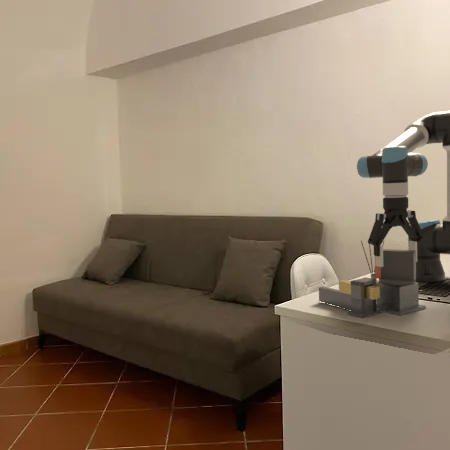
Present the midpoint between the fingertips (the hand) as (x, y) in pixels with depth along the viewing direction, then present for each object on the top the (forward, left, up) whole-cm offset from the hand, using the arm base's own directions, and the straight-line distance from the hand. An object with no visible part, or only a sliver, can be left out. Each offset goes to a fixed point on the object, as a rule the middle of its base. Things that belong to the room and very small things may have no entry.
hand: (396, 263), depth 158 cm
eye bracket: (+12, -11, -14) cm, 22 cm away
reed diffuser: (-9, -16, -14) cm, 23 cm away
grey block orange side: (0, 0, -6) cm, 6 cm away
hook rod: (+12, -5, -9) cm, 16 cm away
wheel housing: (0, 0, -14) cm, 14 cm away
